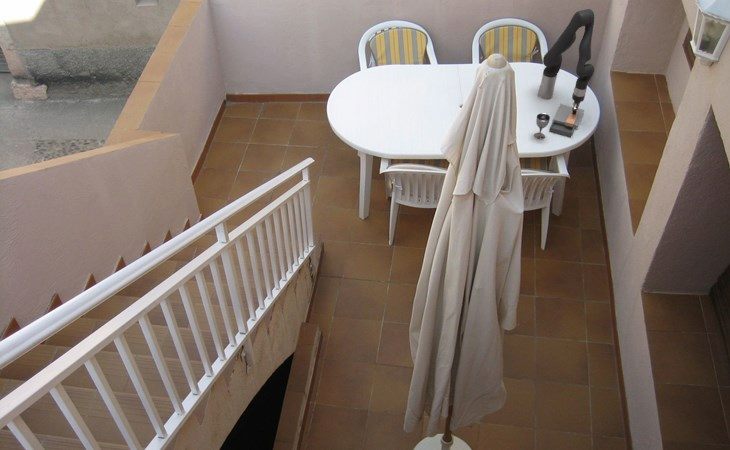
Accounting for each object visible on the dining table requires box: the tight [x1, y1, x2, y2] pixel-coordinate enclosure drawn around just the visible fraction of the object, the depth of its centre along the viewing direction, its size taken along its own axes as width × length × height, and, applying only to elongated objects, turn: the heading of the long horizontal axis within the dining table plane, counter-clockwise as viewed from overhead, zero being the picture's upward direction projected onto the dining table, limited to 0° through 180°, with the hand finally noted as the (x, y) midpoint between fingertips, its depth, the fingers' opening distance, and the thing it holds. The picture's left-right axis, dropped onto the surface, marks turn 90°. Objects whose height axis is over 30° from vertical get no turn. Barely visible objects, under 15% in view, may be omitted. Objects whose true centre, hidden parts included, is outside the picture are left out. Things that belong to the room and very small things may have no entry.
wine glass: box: [533, 112, 551, 141], centre depth 432 cm, size 8×8×15 cm
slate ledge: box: [552, 103, 585, 130], centre depth 449 cm, size 16×19×3 cm
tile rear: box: [568, 114, 577, 121], centre depth 443 cm, size 5×5×2 cm
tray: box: [548, 119, 575, 138], centre depth 440 cm, size 14×9×4 cm, turn 65°
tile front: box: [565, 118, 575, 127], centre depth 440 cm, size 5×5×2 cm
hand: (573, 114), depth 446 cm, fingers closed
